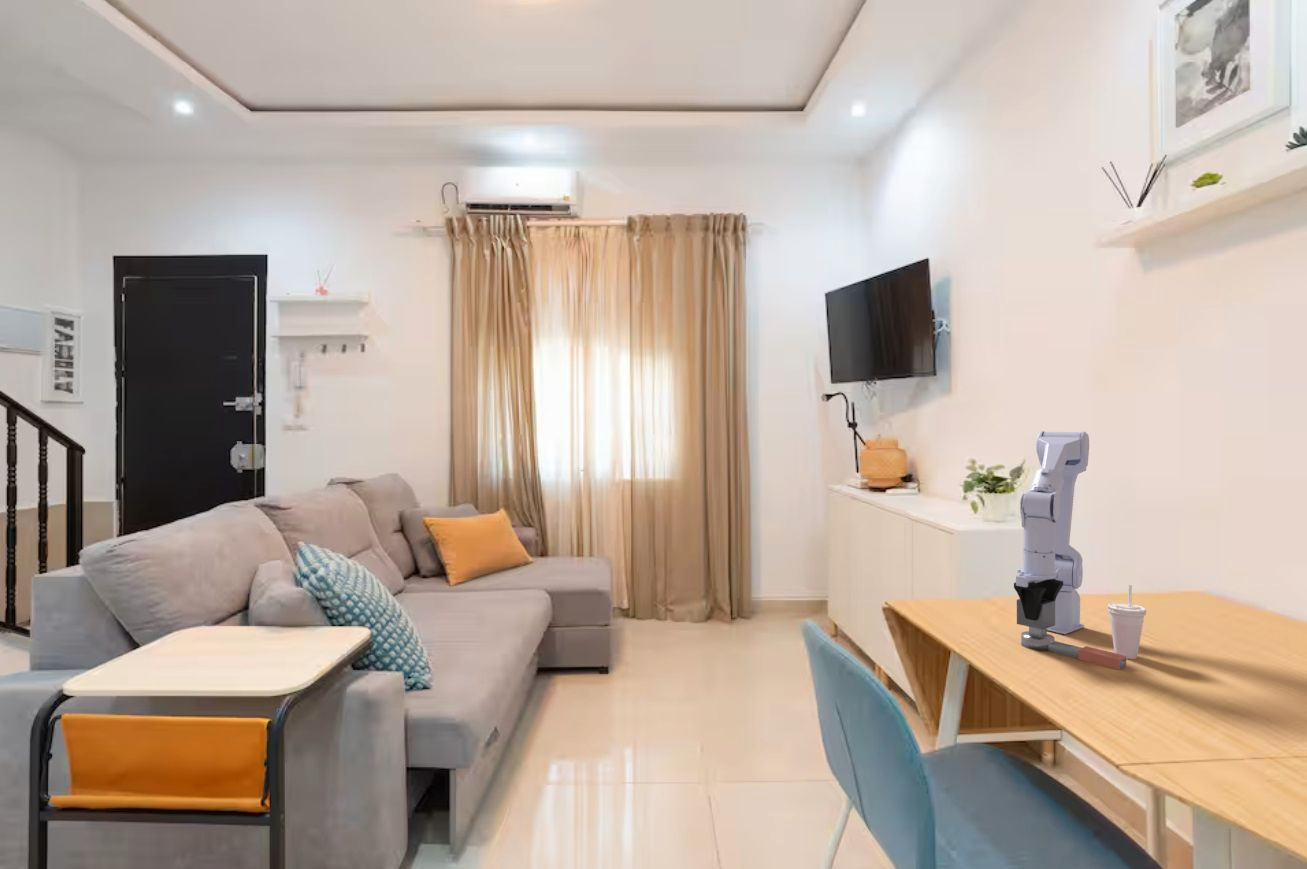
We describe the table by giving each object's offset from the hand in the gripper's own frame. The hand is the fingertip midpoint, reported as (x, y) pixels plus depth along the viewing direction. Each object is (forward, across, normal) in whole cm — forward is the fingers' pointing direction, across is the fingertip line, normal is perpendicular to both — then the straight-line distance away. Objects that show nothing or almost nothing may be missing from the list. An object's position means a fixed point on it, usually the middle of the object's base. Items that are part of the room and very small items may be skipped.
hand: (1038, 617), depth 145 cm
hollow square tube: (+2, 0, 0) cm, 2 cm away
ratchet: (+6, 0, +6) cm, 9 cm away
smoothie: (+6, -8, +13) cm, 16 cm away
